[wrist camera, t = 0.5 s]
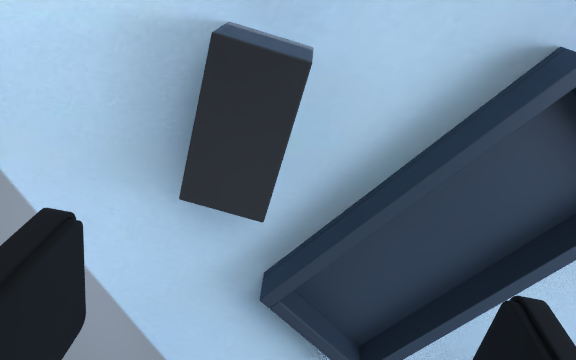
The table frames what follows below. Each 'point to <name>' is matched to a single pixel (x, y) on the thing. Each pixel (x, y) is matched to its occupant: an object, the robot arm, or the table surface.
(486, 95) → the table surface
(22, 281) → the robot arm
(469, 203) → the tray
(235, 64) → the eraser
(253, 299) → the table surface
